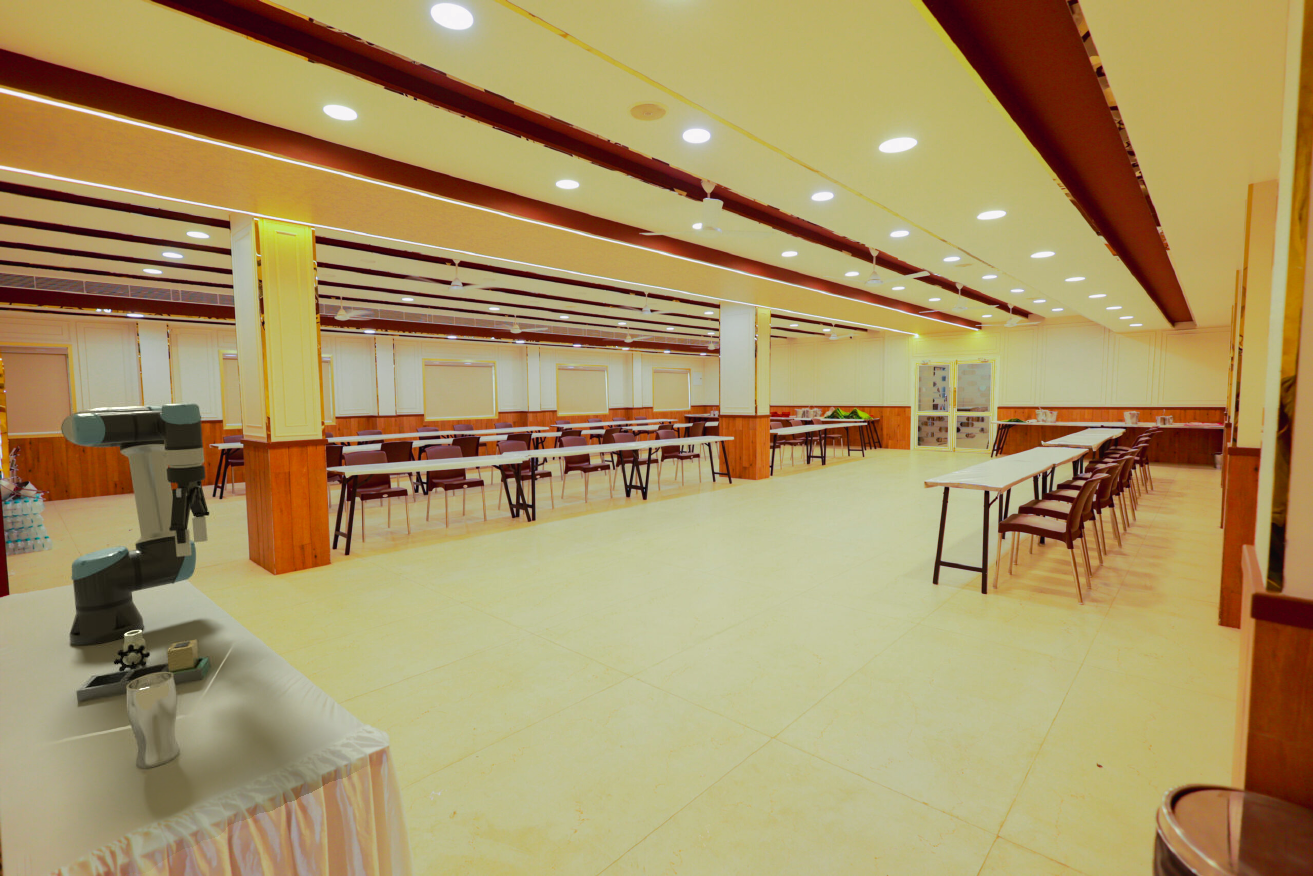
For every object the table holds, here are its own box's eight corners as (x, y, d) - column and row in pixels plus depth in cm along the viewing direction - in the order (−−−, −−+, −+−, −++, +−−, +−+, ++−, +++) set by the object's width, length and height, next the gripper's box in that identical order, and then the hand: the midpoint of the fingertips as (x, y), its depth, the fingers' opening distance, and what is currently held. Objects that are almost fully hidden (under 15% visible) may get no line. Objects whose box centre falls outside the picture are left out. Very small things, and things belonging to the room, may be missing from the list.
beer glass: (152, 748, 113) (144, 672, 111) (191, 745, 113) (184, 670, 112) (122, 772, 106) (114, 691, 104) (164, 769, 106) (156, 688, 105)
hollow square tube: (175, 674, 141) (172, 642, 140) (199, 669, 143) (196, 638, 142) (170, 682, 137) (166, 650, 136) (194, 678, 139) (191, 646, 138)
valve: (118, 658, 151) (114, 676, 142) (116, 633, 150) (112, 649, 141) (152, 651, 155) (151, 667, 146) (150, 626, 154) (148, 641, 145)
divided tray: (93, 688, 136) (91, 675, 135) (210, 668, 145) (209, 655, 144) (77, 704, 129) (76, 690, 129) (202, 681, 138) (200, 669, 138)
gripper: (183, 459, 159) (190, 537, 161) (147, 474, 136) (156, 564, 138) (217, 458, 161) (223, 534, 164) (188, 471, 139) (195, 560, 141)
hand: (192, 548), depth 151 cm, fingers open, 13 cm apart
